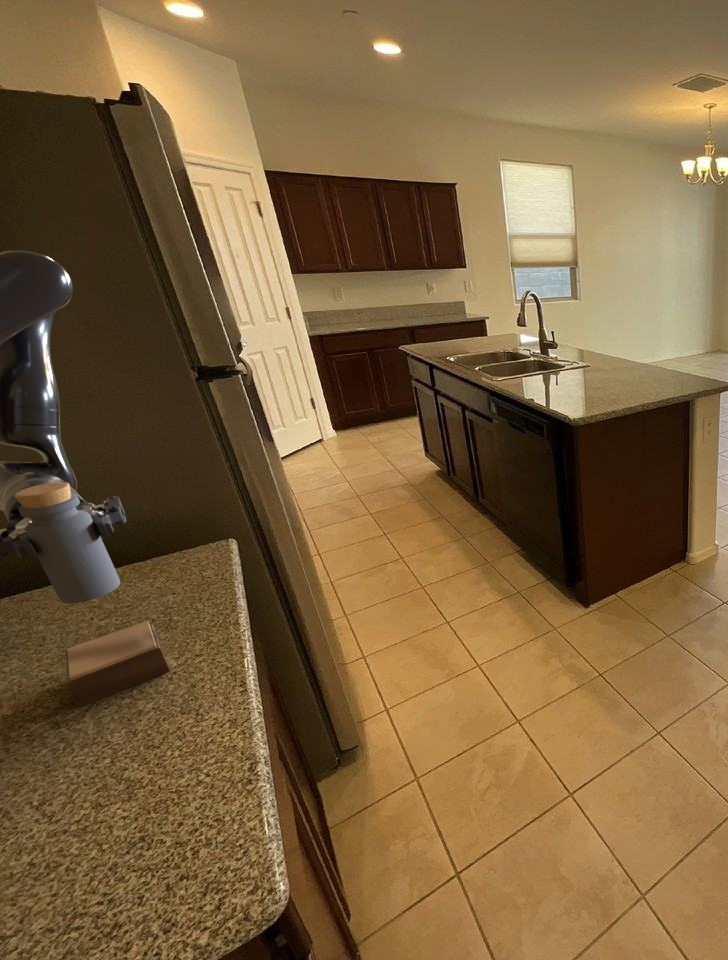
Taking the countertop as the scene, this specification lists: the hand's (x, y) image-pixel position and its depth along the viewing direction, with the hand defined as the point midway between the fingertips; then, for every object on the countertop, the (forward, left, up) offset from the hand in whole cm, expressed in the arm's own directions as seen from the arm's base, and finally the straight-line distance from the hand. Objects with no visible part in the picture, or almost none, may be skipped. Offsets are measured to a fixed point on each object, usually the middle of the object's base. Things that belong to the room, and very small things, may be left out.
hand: (68, 540), depth 65 cm
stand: (-1, 0, -21) cm, 21 cm away
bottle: (-2, +1, -9) cm, 9 cm away
